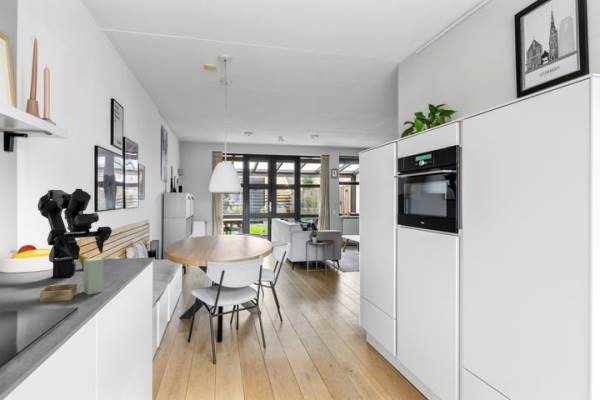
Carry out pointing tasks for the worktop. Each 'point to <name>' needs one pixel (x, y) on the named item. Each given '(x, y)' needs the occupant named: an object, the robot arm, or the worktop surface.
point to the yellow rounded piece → (82, 260)
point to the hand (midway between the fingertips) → (87, 253)
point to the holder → (58, 292)
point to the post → (93, 275)
